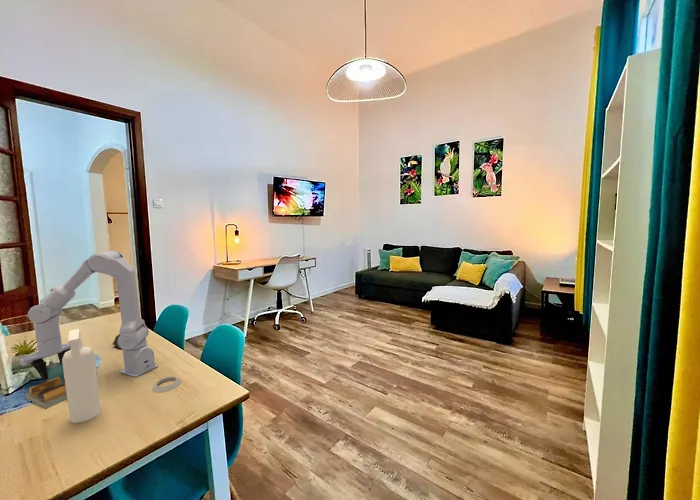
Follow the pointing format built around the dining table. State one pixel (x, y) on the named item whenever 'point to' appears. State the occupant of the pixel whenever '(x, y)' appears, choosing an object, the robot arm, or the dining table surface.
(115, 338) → the stone
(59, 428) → the dining table surface
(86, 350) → the white bottle
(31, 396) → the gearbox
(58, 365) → the spout can
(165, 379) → the ring
